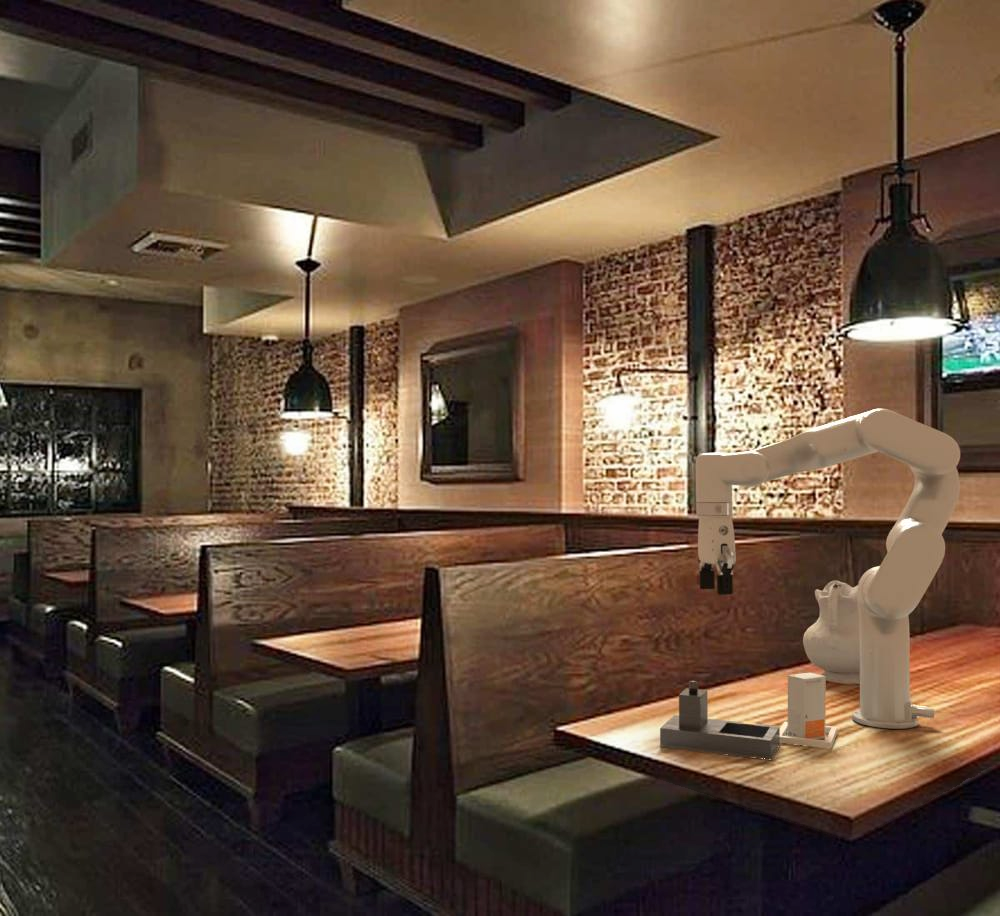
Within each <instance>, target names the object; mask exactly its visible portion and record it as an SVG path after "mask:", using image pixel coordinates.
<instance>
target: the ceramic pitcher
mask: <svg viewBox="0 0 1000 916" xmlns="http://www.w3.org/2000/svg"><path fill="white" fill-rule="evenodd" d="M857 592H858V584H857V585H856V586H854V587H852V586H851V585H849V584H848V583H846V582H841V581H839V580H835V579H834V580H832V581H830V582H828V583H827V584H826V585H825V586H824V588H823V590H820V589H815V590H814V595H815V600H816V601H817V603H818V606H819V617H818V619H817V620H816V621H815V622H814V623H813V624H812V625H810V626H809V627H808V628H807V629H806V631H805V632H804V634H803V637H802V643H803V647H804V652H805V655H806V657H807V658H808V660H809V661H810V663H811V664H813V666H814V667H816V668H819V669H821V670H823V671H824V672H823V673H821V675H822V676H825V677H826V682H828V683H833V684H842V685H850V686H852V685H860V625H859V609H858V596H857Z"/></svg>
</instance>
